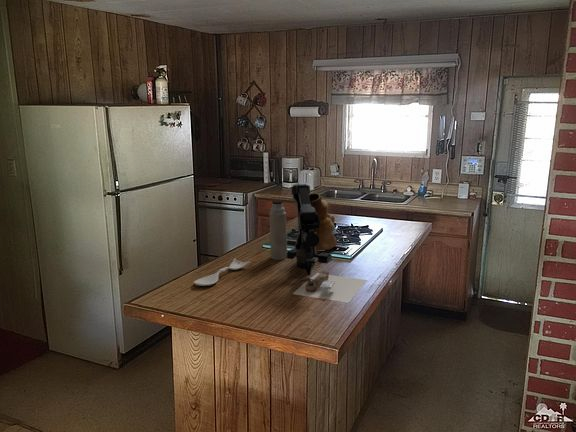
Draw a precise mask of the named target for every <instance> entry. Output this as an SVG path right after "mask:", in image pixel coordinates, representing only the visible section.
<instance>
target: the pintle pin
mask: <svg viewBox="0 0 576 432" xmlns="http://www.w3.org/2000/svg"><path fill="white" fill-rule="evenodd" d="M307 281H308V285H314V280H313V279H310V278H308V279H307Z"/></svg>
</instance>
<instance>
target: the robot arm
mask: <svg viewBox="0 0 576 432" xmlns="http://www.w3.org/2000/svg"><path fill="white" fill-rule="evenodd" d="M309 194H311V186H310V185H308V184H306V183H305V184H304V183H303V184H302V183H301V184H293V185H292V186H290V195H291V196H292V200H293V202H294V203H295V204H296V214H297V215H296V217H297V227H298V237H297V239H296V241H295V244H294V248H291V249H290V250H287V254H286V257H287V258H286V259H287V260H289V259H290V260H293V259H296V267H297V268H299V269H302V270H303V269H305V272H306V275H307V276H311V275H312V272H313V270H314V267H315V264H316V263H317V262H318V263H320V264H328V263H329V262H331V261H332V258H333V257H332V254H331V253H330V252H321V253H320V254H317V253H318V252H317V250H316V245H318V243H319V236H318V235H317V233H316V229H319V226H320V220H319V216H318V214H317V213H316V211H315V208H314V207H312V206H311V203H310V198H309ZM311 224H317V226H316V225H311Z"/></svg>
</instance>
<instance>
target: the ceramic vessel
mask: <svg viewBox="0 0 576 432" xmlns="http://www.w3.org/2000/svg"><path fill="white" fill-rule="evenodd" d="M309 198H310V203H311V206H312V207H314V208H315V211H316V213H317V214H318V216H319V220H320V226H319V229H316V233H317V235H318V236H319V243H318V245H316V250H328V249H332V248H333V247H335V246H336V245H337V246H338V244H339V243H338V240H337V238H336V237H335V235H334V233H333V232H334V230H335V221H336V220H335V216H334V215H333V214H330V213H329V210H330V209H329V207H330V205H329V203H328V202H327V201H326V200H324V196H321V195H320V194H319V193H310V194H309ZM311 225H316V226H317V224H311ZM332 250H333V249H332Z"/></svg>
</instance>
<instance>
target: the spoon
mask: <svg viewBox="0 0 576 432" xmlns="http://www.w3.org/2000/svg"><path fill="white" fill-rule="evenodd" d="M250 263H251V261H244V262H243V261H240V260H239V259H237V258H234V259H233V260H232V262H230V264H229V266H225V267H223V268H220V269H219V270H218V271H216V272H215V273H213V274H210V275H207V276H203V277H200V278H198V279H196V280H194V281H193V284H195V285H196V286H198V287H201V286H202V287H203V286H204V287H207V286H212V285H214V284H216V283H217V282H218V281H219V274H221V273H222V272H223V273H224V272H226V271H227V270H234V271H236V270H240V269H242V268H244V267H247V266H248V265H249V264H250Z"/></svg>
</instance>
